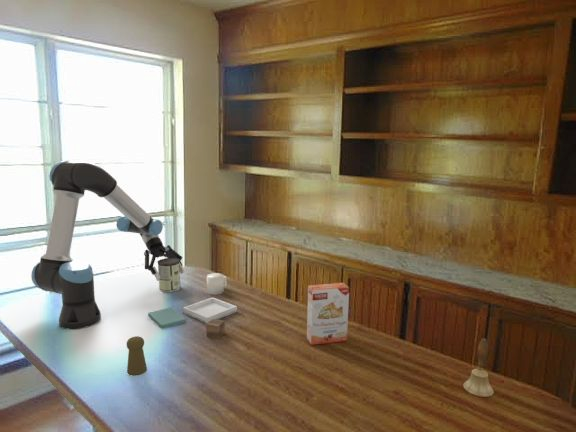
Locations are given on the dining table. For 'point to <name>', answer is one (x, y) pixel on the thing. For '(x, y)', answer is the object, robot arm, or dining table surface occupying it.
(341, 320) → the cracker box
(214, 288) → the mug
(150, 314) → the teal notebook
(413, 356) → the dining table surface
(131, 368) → the cork
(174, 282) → the coffee can
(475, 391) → the hand bell
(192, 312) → the tray
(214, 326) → the walnut block
